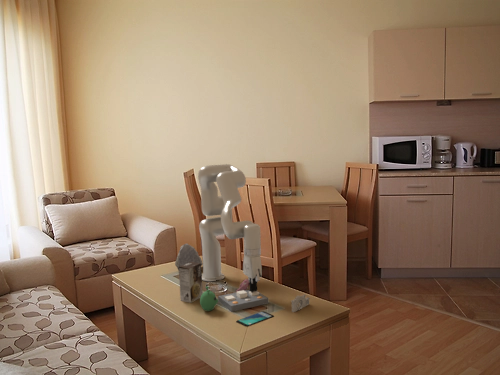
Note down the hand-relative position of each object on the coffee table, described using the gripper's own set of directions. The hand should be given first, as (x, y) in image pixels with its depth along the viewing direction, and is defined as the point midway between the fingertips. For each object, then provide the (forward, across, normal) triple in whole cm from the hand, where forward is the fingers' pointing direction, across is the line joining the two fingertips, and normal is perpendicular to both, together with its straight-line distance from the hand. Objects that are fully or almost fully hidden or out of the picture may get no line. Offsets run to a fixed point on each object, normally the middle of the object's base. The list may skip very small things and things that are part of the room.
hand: (253, 290), depth 210 cm
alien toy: (+4, +2, -22) cm, 23 cm away
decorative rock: (+5, -60, -9) cm, 60 cm away
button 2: (+3, 0, 0) cm, 3 cm away
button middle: (+2, 0, -6) cm, 6 cm away
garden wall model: (+4, +20, +12) cm, 24 cm away
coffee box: (+4, -16, -24) cm, 29 cm away
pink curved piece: (+4, -11, +1) cm, 12 cm away
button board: (+4, +1, -6) cm, 7 cm away
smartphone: (+4, +20, -10) cm, 23 cm away
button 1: (+3, 0, -12) cm, 12 cm away
